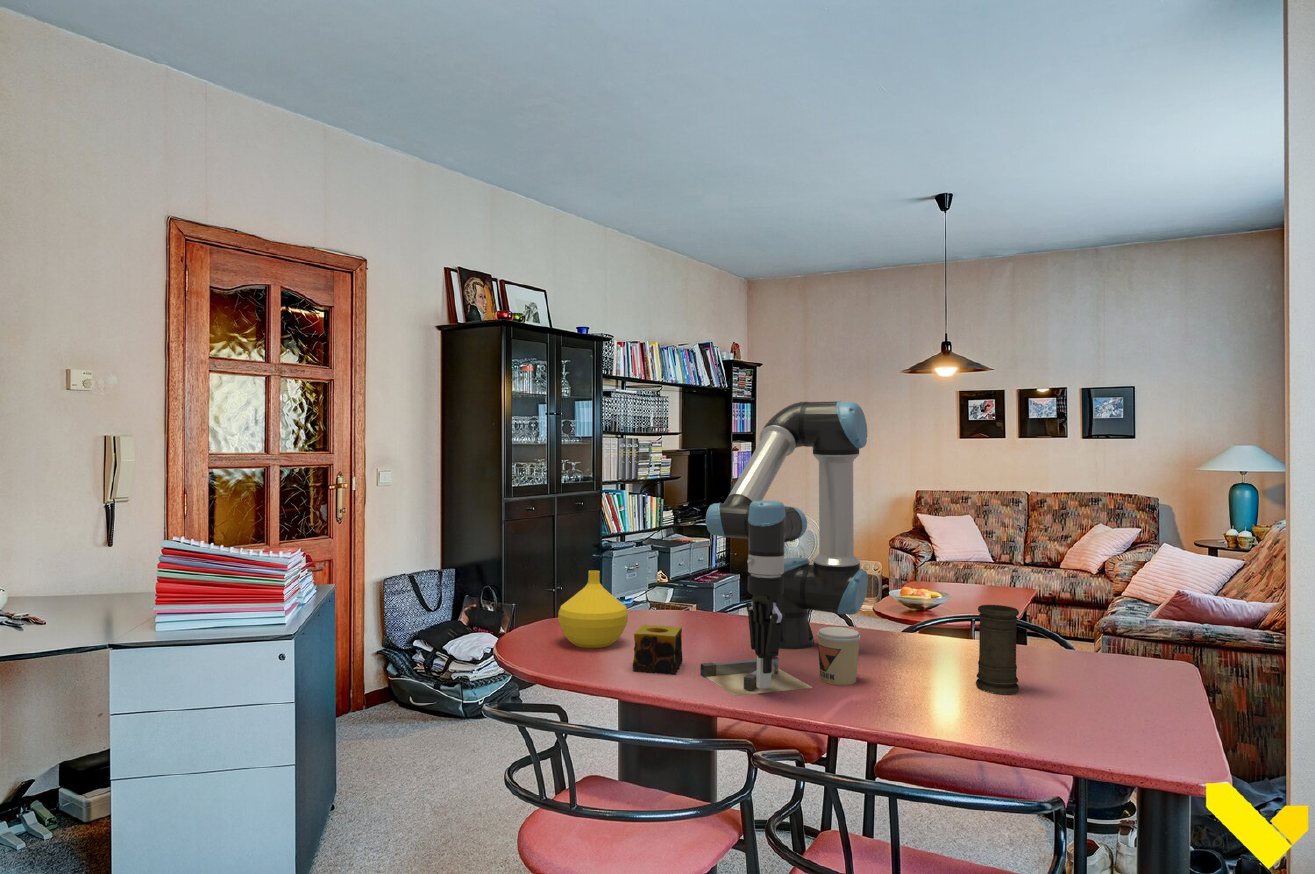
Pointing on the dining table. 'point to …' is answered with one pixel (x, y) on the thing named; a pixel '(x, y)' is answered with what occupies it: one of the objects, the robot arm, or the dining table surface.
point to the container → (997, 649)
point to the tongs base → (733, 667)
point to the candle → (658, 649)
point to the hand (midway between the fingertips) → (763, 687)
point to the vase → (593, 616)
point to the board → (736, 687)
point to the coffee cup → (838, 655)
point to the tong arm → (753, 679)
